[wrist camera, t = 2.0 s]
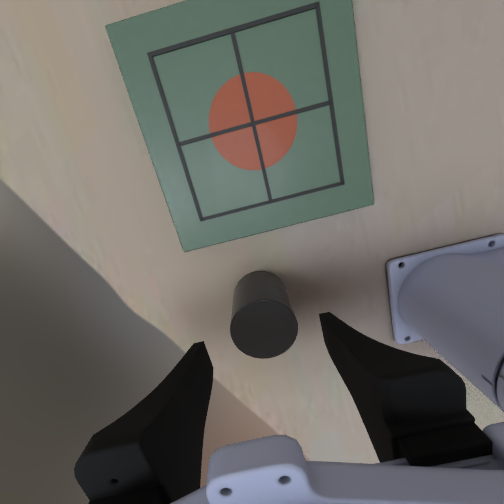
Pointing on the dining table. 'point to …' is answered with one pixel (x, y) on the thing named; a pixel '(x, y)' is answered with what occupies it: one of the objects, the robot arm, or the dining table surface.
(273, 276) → the dark grey canister
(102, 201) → the dining table surface
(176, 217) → the board
